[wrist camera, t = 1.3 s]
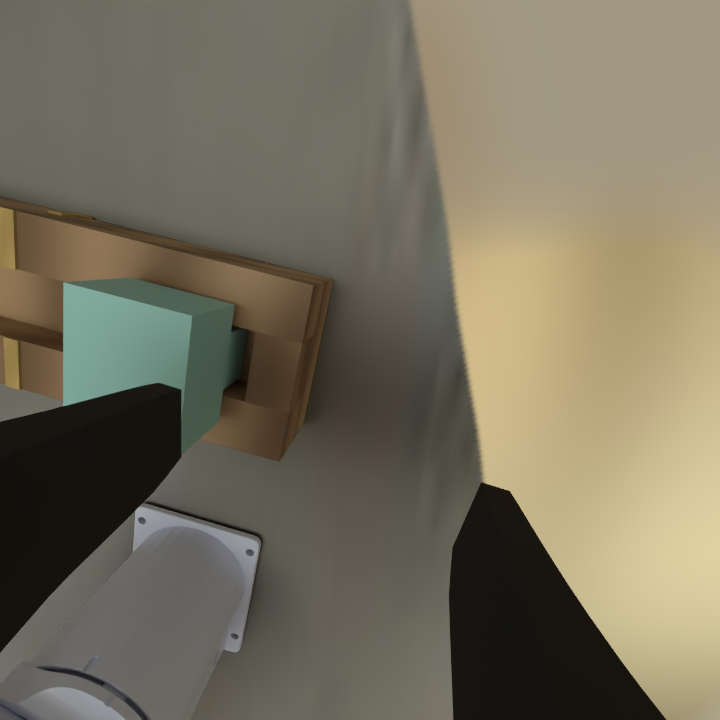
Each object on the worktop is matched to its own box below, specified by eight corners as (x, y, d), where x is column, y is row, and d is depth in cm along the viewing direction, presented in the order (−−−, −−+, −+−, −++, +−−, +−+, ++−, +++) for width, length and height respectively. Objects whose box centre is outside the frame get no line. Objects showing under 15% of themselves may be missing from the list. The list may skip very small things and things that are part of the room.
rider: (256, 298, 17) (192, 316, 12) (240, 403, 18) (177, 457, 13) (164, 275, 17) (63, 282, 12) (156, 380, 19) (62, 425, 14)
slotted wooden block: (334, 276, 18) (295, 287, 12) (303, 425, 21) (257, 497, 15) (-105, 167, 20) (-341, 126, 14) (-88, 318, 22) (-281, 342, 16)
